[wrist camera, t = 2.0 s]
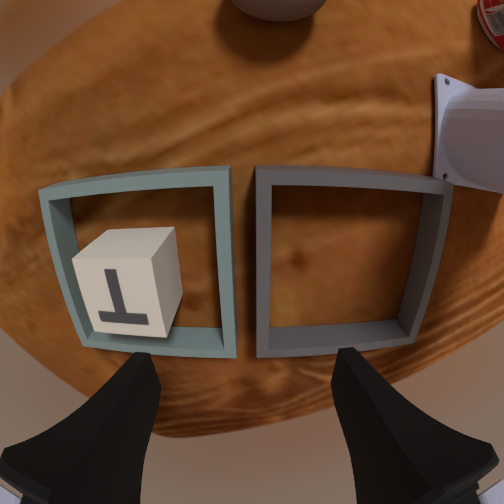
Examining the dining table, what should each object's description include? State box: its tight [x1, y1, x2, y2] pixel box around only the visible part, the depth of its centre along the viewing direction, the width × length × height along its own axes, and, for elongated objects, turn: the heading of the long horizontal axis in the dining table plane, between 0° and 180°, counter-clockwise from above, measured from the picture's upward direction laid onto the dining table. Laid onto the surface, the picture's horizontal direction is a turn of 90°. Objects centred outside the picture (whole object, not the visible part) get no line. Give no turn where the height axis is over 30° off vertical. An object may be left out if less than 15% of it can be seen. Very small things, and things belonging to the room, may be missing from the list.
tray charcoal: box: [255, 165, 454, 358], centre depth 18 cm, size 13×13×2 cm
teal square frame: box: [39, 166, 238, 358], centre depth 18 cm, size 13×13×2 cm
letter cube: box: [72, 227, 183, 338], centre depth 17 cm, size 5×5×5 cm
